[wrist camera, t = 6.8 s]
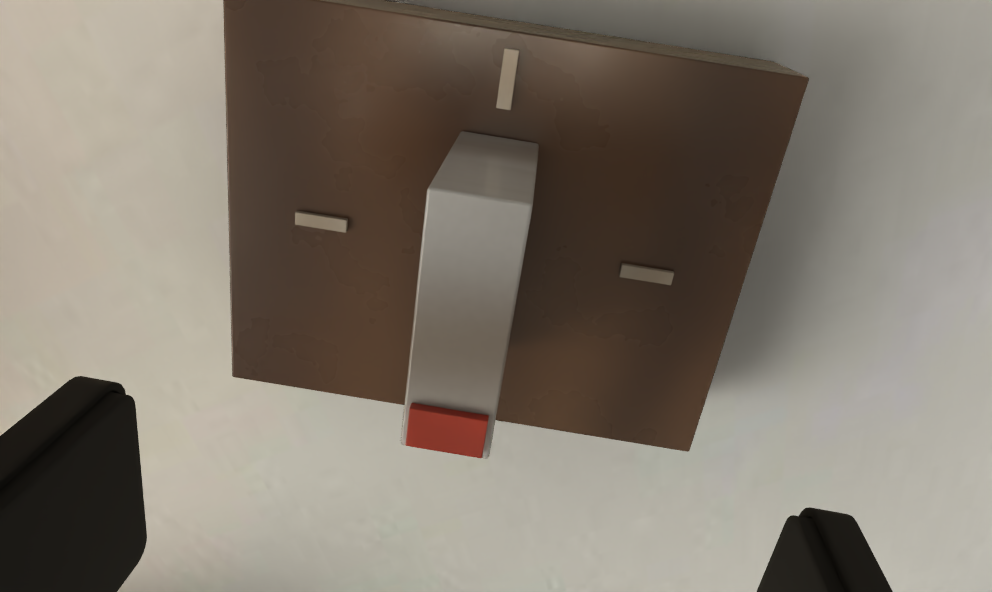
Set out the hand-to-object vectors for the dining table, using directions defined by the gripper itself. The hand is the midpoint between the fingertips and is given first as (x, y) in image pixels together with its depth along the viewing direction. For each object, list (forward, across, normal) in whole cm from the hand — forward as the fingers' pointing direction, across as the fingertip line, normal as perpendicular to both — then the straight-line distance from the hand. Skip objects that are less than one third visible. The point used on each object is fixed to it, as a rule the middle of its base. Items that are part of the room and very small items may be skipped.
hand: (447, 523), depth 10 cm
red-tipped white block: (+10, +1, 0) cm, 10 cm away
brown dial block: (+13, +1, 0) cm, 13 cm away
